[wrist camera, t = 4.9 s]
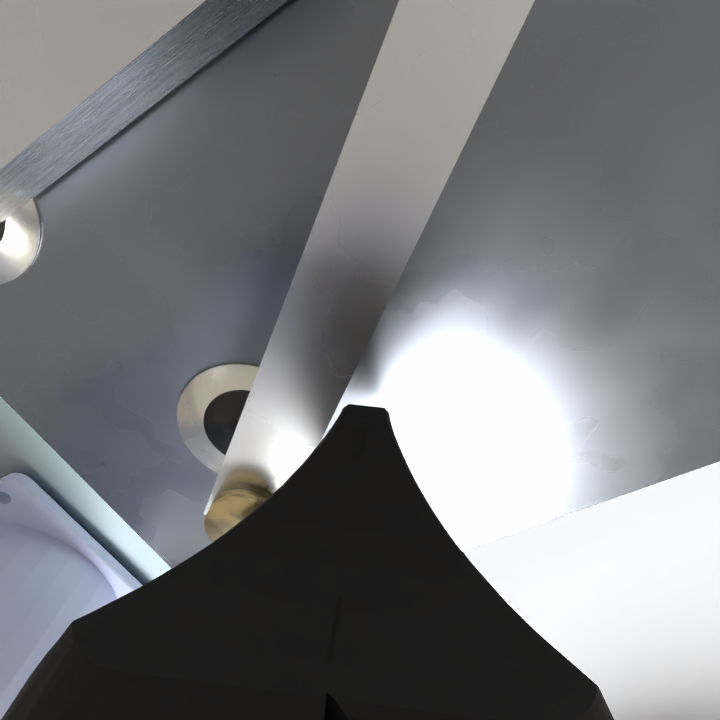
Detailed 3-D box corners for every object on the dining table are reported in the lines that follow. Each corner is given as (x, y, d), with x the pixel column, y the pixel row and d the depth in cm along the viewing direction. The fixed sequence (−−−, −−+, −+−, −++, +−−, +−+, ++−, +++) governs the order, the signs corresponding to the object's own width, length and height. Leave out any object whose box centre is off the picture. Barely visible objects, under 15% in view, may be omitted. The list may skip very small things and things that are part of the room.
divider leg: (418, -21, 8) (426, -83, 6) (503, 23, 9) (550, -17, 6) (235, 450, 13) (191, 538, 10) (292, 472, 13) (264, 564, 10)
